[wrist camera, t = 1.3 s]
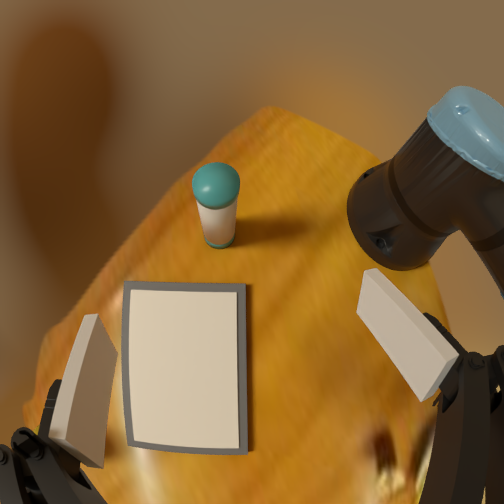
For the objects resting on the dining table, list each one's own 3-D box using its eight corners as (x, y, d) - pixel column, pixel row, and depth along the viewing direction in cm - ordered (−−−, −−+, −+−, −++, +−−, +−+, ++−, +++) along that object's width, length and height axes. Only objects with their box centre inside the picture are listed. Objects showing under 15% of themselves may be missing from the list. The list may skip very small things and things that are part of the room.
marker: (235, 219, 34) (240, 162, 22) (235, 250, 33) (239, 203, 21) (204, 219, 33) (194, 162, 22) (202, 249, 32) (190, 202, 21)
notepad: (245, 284, 31) (245, 283, 30) (247, 451, 26) (248, 455, 25) (126, 282, 30) (123, 280, 29) (129, 443, 24) (127, 446, 24)
